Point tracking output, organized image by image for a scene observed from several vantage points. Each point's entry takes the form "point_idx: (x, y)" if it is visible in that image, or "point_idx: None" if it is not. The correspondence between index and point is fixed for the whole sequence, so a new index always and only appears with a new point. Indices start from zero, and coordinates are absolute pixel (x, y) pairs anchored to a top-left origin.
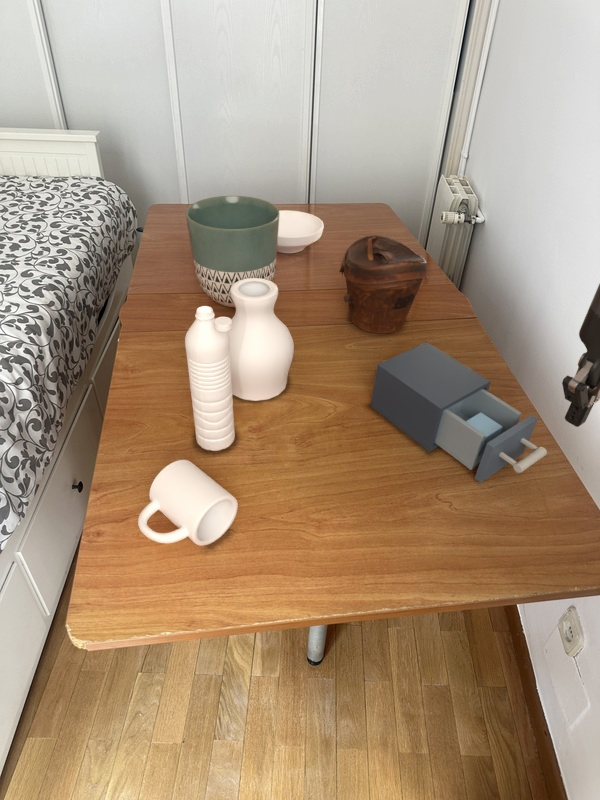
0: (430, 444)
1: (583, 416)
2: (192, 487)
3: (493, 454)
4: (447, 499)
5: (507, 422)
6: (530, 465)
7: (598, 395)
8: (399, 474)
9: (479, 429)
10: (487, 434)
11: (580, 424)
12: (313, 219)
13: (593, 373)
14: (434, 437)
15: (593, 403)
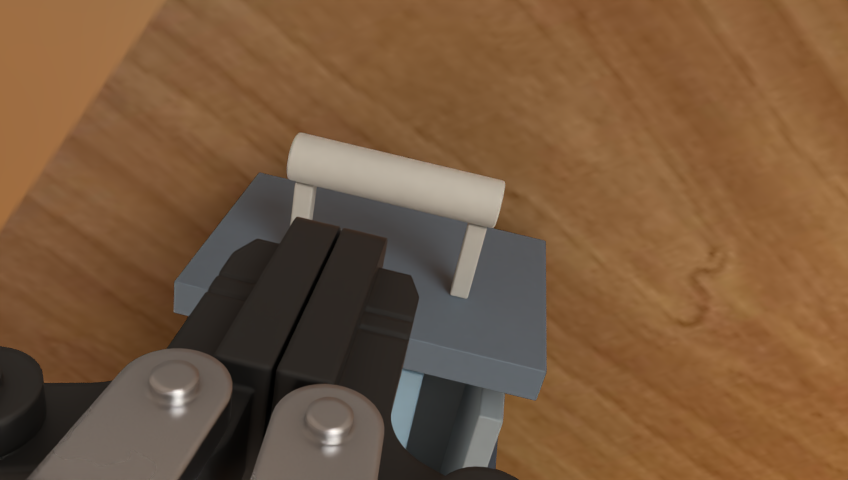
0: (496, 441)
1: (364, 305)
2: None
3: (521, 327)
4: (684, 289)
5: None
6: (434, 166)
7: (174, 443)
8: (669, 442)
9: (396, 409)
10: (402, 377)
11: (378, 245)
12: None
13: None
14: (489, 464)
15: (231, 362)
